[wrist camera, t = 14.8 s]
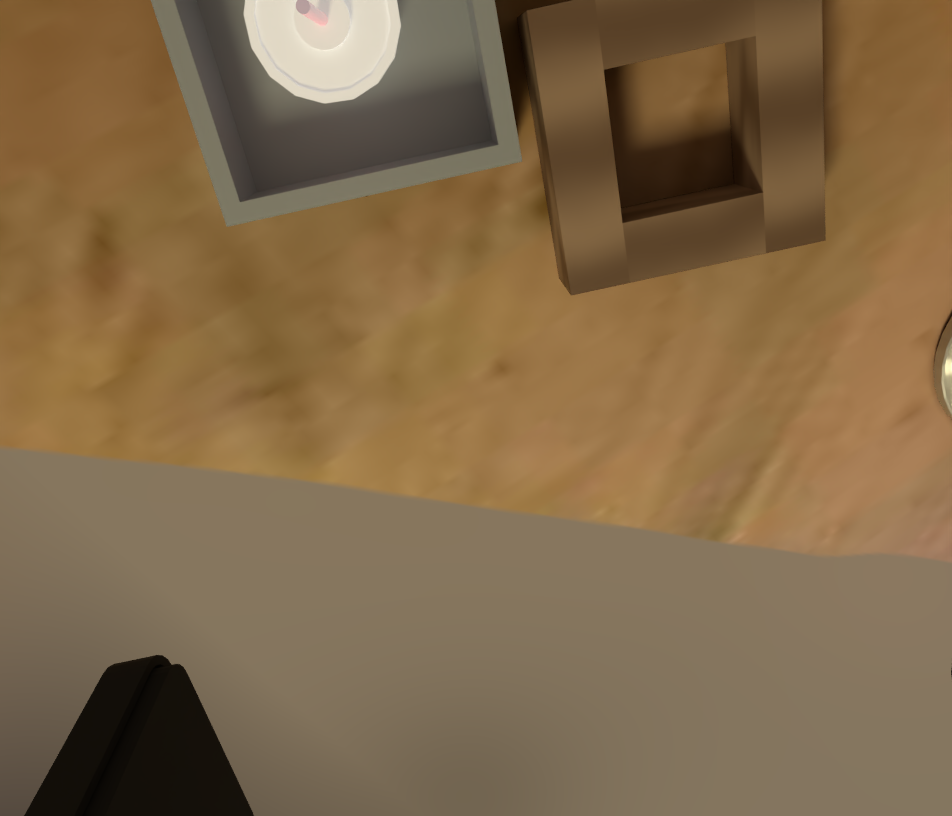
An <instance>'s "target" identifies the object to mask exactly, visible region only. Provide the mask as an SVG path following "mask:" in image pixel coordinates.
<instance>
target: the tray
mask: <svg viewBox="0 0 952 816" xmlns="http://www.w3.org/2000/svg"><path fill="white" fill-rule="evenodd" d="M151 2H152V5H153V8H154V11H155V14H156V17H157V20H158V23H159V26H160V29H161V32H162V35H163V38H164V41H165V44H166V47H167V50H168V53H169V56H170V59H171V62H172V65H173V68H174V71H175V74H176V77H177V80H178V83H179V86H180V89H181V92H182V94H183V97H184V100H185V103H186V106H187V109H188V112H189V115H190V118H191V121H192V124H193V127H194V130H195V133H196V136H197V139H198V142H199V145H200V148H201V151H202V154H203V157H204V160H205V163H206V166H207V169H208V172H209V175H210V178H211V181H212V184H213V187H214V190H215V193H216V196H217V199H218V202H219V205H220V208H221V211H222V213H223V216H224V219H225V222H226V225H227V227H228V226H232V225H237V224H242V223H246V222H251V221H255V220H260V219H264V218H269V217H273V216H278V215H282V214H287V213H291V212H296V211H300V210H305V209H309V208H314V207H318V206H323V205H327V204H332V203H337V202H341V201H346V200H350V199H355V198H359V197H364V196H368V195H373V194H377V193H382V192H386V191H391V190H395V189H400V188H404V187H409V186H413V185H418V184H422V183H427V182H432V181H436V180H441V179H445V178H450V177H454V176H459V175H463V174H468V173H472V172H477V171H481V170H486V169H490V168H495V167H499V166H504V165H508V164H513V163H517V162H522V157H521V151H520V146H519V140H518V134H517V128H516V122H515V116H514V111H513V105H512V99H511V93H510V87H509V81H508V76H507V70H506V64H505V58H504V52H503V46H502V41H501V35H500V29H499V23H498V17H497V11H496V5H495V0H397V3H398V9H399V16H400V22H401V29H400V34H399V39H398V44H397V49H396V54H395V58H394V60H393V61H392V63H391V64H390V66H389V67H388V69H387V71H386V72H385V74H384V75H383V77H382V78H381V80H380V81H379V83H378V84H376V85H375V86H373V87H372V88H370V89H369V90H367V91H366V92H364V93H363V94H361V95H360V96H358V97H357V98H355V99H352V100H346V101H339V102H332V103H326V104H324V103H320V102H317V101H313V100H309V99H305V98H302V97H298V96H295V95H294V94H292V93H291V92H290V91H288V90H287V89H286V88H284V87H283V86H282V85H280V84H279V83H278V82H276V81H275V80H274V79H272V78H271V77H270V76H269V75H268V73H267V71H266V70H265V68H264V67H263V65H262V64H261V62H260V61H259V59H258V57H257V56H256V54H255V53H254V51H253V50H252V48H251V44H250V40H249V36H248V31H247V27H246V23H245V19H244V6H245V0H151Z"/></svg>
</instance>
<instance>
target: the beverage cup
mask: <svg viewBox="0 0 952 816" xmlns="http://www.w3.org/2000/svg"><path fill="white" fill-rule="evenodd" d="M244 19H245V23H246V27H247V31H248V36H249V40H250V44H251V48H252V50H253V51H254V53H255V54H256V56H257V57H258V59H259V61H260V62H261V64H262V65H263V67H264V68H265V70H266V71H267V73H268V75H269V76H270V77H271V78H272V79H274V80H275V81H276V82H278V83H279V84H280V85H282V86H283V87H284V88H286V89H287V90H288V91H290V92H291V93H292V94H294V95H295V96H298V97H302V98H305V99H309V100H313V101H317V102H320V103H324V104H326V103H332V102H339V101H346V100H352V99H355V98H357V97H358V96H360V95H361V94H363V93H364V92H366V91H367V90H369V89H370V88H372V87H373V86H375V85H376V84H378V83H379V81H380V80H381V78H382V77H383V75H384V74H385V72H386V71H387V69H388V67H389V66H390V64H391V63H392V61H393V60H394V58H395V54H396V49H397V44H398V39H399V34H400V29H401V22H400V16H399V9H398V3H397V0H245V6H244Z"/></svg>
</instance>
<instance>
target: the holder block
mask: <svg viewBox="0 0 952 816" xmlns="http://www.w3.org/2000/svg"><path fill="white" fill-rule="evenodd" d="M517 21H518V27H519V33H520V40H521V46H522V52H523V58H524V64H525V70H526V77H527V83H528V89H529V95H530V101H531V107H532V114H533V120H534V126H535V132H536V138H537V144H538V151H539V157H540V163H541V169H542V175H543V182H544V188H545V194H546V200H547V206H548V212H549V219H550V225H551V231H552V237H553V243H554V249H555V256H556V262H557V268H558V274H559V279H560V280H561V282H562V283H563V284H564V286H565V287H566V289H567V290H568V291H569V293H570V294H571V295H575V294H580V293H585V292H589V291H594V290H599V289H603V288H608V287H612V286H617V285H622V284H626V283H631V282H635V281H640V280H645V279H649V278H654V277H659V276H663V275H668V274H672V273H677V272H682V271H686V270H691V269H696V268H700V267H705V266H709V265H714V264H719V263H723V262H728V261H733V260H737V259H742V258H746V257H751V256H756V255H760V254H765V253H769V252H774V251H779V250H783V249H788V248H793V247H797V246H802V245H806V244H811V243H816V242H820V241H825V174H824V105H823V36H822V0H571V1H567V2H562V3H558V4H553V5H549V6H544V7H540V8H536V9H531V10H527V11H525V12H524V13H523V14H522V15H520V16H519V17H518V18H517ZM721 43H725V44H726V60H727V76H728V93H729V109H730V125H731V141H732V157H733V173H734V184H731V185H726V186H722V187H717V188H713V189H708V190H703V191H699V192H694V193H690V194H685V195H681V196H676V197H671V198H667V199H662V200H658V201H653V202H649V203H644V204H639V205H635V206H630V207H626V208H621V206H620V198H619V190H618V182H617V174H616V166H615V158H614V150H613V141H612V133H611V125H610V117H609V109H608V101H607V93H606V85H605V76H604V70H605V69H610V68H614V67H618V66H623V65H627V64H632V63H636V62H641V61H645V60H650V59H654V58H659V57H663V56H668V55H672V54H677V53H681V52H686V51H690V50H695V49H699V48H704V47H708V46H712V45H717V44H721Z"/></svg>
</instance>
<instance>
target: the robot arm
mask: <svg viewBox="0 0 952 816" xmlns="http://www.w3.org/2000/svg"><path fill="white" fill-rule="evenodd" d="M933 370H934V386H935V390H936V393H937V397H938V400H939V402H940V404H941V406H942V407H943V409H944V411H945V412H946V414H947V415H948V416H949V417H950V418H951V419H952V317H951V319H950V320H949V322H948V324H947V326H946V328H945V330H944V332H943V333H942V336H941V339H940V342H939V345H938V348H937V351H936V356H935V363H934V369H933ZM951 675H952V670H951ZM24 816H254V815H253V812H252V810H251V808H250V806H249V804H248V801H247V799H246V797H245V795H244V793H243V791H242V789H241V787H240V785H239V782H238V780H237V778H236V776H235V774H234V772H233V770H232V767H231V765H230V763H229V761H228V759H227V757H226V755H225V753H224V751H223V748H222V746H221V744H220V742H219V740H218V738H217V736H216V734H215V731H214V729H213V727H212V726H211V723H210V721H209V719H208V717H207V714H206V712H205V710H204V708H203V706H202V704H201V702H200V700H199V697H198V695H197V693H196V691H195V689H194V687H193V685H192V683H191V681H190V678H189V676H188V674H187V672H186V670H185V669H184V667H183V666H181V665H180V664H174V665H171V663H170V662H169V660H168V659H167V658H165V657H164V656H162V655H155V656H151V657H146V658H141V659H136V660H132V661H127V662H122V663H117V664H113V665H111V666H110V667H108V668H107V669H106V671H105V672H104V673H103V675H102V677H101V678H100V680H99V682H98V684H97V686H96V687H95V689H94V691H93V693H92V695H91V696H90V698H89V700H88V702H87V704H86V705H85V707H84V709H83V711H82V713H81V714H80V716H79V718H78V720H77V722H76V724H75V725H74V727H73V729H72V731H71V732H70V734H69V736H68V738H67V740H66V742H65V744H64V745H63V747H62V749H61V750H60V752H59V754H58V756H57V758H56V759H55V761H54V763H53V765H52V767H51V769H50V770H49V772H48V774H47V776H46V778H45V779H44V781H43V783H42V785H41V787H40V788H39V790H38V792H37V794H36V796H35V797H34V799H33V801H32V803H31V805H30V807H29V808H28V810H27V812H26V814H25V815H24Z"/></svg>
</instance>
